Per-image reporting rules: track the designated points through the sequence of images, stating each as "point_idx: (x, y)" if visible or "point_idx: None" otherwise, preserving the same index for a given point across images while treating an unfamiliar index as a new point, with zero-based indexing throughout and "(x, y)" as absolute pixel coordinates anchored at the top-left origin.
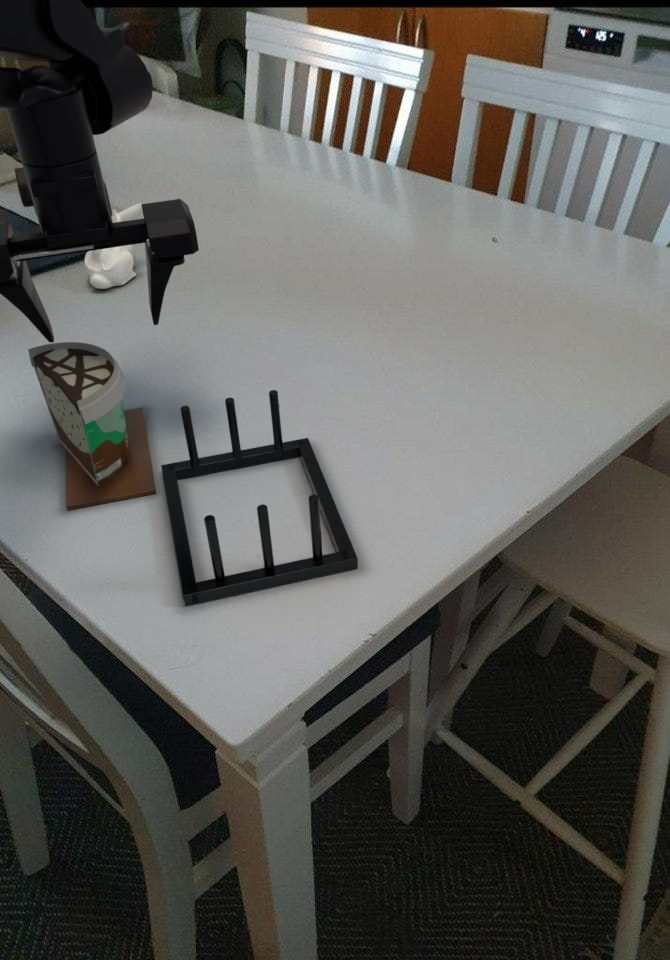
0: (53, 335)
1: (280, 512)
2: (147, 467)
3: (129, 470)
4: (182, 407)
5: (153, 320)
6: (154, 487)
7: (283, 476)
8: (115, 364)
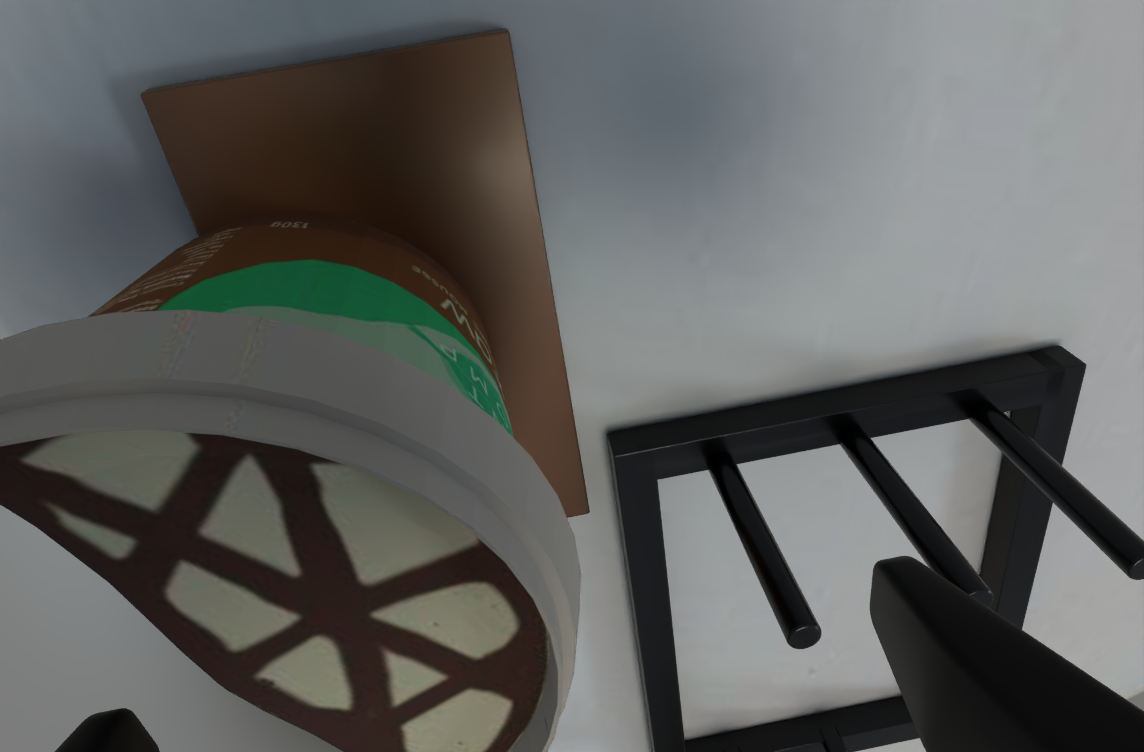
0: (128, 731)
1: None
2: (560, 423)
3: None
4: (796, 635)
5: (895, 669)
6: (587, 507)
7: (942, 457)
8: (557, 642)
